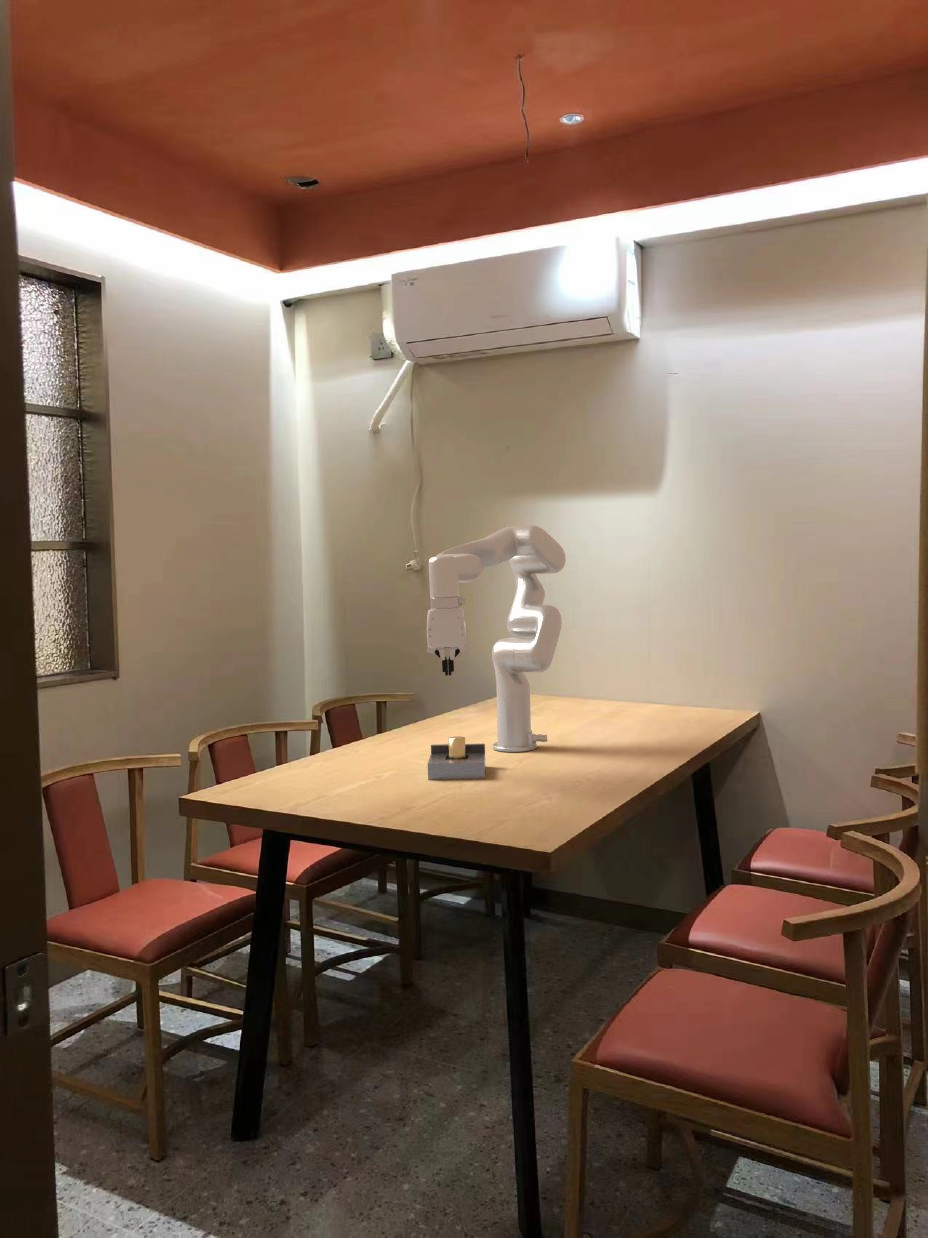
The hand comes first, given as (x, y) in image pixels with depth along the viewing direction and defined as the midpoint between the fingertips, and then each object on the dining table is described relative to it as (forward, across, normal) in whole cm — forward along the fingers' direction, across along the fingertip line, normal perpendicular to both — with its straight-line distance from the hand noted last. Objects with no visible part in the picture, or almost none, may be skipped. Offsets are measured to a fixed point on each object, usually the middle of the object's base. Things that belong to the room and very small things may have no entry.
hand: (448, 674), depth 251 cm
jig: (+24, -1, +6) cm, 25 cm away
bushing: (+24, -1, +6) cm, 25 cm away
